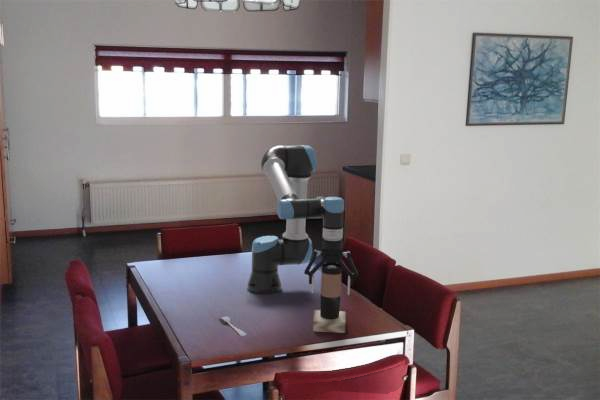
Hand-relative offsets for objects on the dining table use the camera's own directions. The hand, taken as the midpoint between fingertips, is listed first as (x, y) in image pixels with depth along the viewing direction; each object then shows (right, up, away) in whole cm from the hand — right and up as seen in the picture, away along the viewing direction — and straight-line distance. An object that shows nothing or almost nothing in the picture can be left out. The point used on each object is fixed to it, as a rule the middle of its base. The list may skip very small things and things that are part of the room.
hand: (330, 293), depth 240 cm
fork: (-38, -13, 0) cm, 40 cm away
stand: (0, -13, +2) cm, 13 cm away
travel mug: (0, -9, +2) cm, 9 cm away
